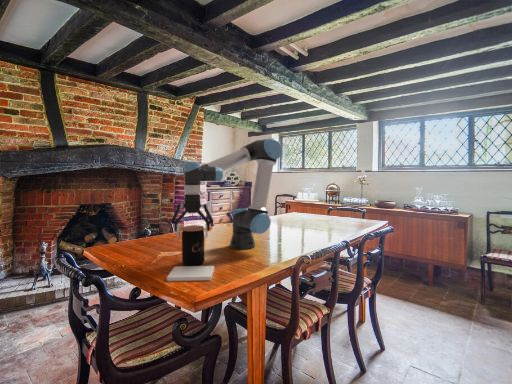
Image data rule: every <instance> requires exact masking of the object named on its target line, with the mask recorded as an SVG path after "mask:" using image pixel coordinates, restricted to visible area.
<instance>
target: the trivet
mask: <svg viewBox="0 0 512 384" xmlns="http://www.w3.org/2000/svg"><path fill="white" fill-rule="evenodd" d="M214 271H215V265H199V266H185V265H184V266H174V267H173V268H172V269H171V271H170V272H169V273H168V275H167V277H166V282H185V281H186V282H187V281H188V282H189V281H190V282H191V281H198V282H199V281H212V277H213V276H214V275H213V274H214Z"/></svg>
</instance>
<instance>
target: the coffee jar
mask: <svg viewBox="0 0 512 384" xmlns="http://www.w3.org/2000/svg"><path fill="white" fill-rule="evenodd" d="M204 229H205V226H203V225H193V224H191V225H185V226H182V227H181V230H182V232H181V249H182V250H181V252H182V254H181V256H182V257H181V258H182V260H181V261H182V264H183V265H184V266H203V264H204V262H205V231H204Z"/></svg>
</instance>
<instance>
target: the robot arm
mask: <svg viewBox="0 0 512 384" xmlns="http://www.w3.org/2000/svg"><path fill="white" fill-rule="evenodd" d="M282 154H283V145H282V144H281V143H280V141H279V140H278V139H276V138H270V137H269V138H268V137H267V138H264V139H257V140H254V141H252V142H250V143H248V144H246V145H243V146H241V147H240V148H239V150H236V151H234V152H231V153H229V154H227V155H224V156H222V157H220V158H217V159H214V160H212V161H210V162H207V163H205V164H202V165H201V163H200V161H186V162H184V169H183V176H184V177H183V178H184V181H183V182H184V184H183V185H184V186H183V193H184V195H183V197H184V201H183V202H184V203H178V204H177V207H176V210H175V212H174V214H173V216H172V218H171V220H170V223H171V224H174V231H176V238H177V239H179V238H180V236H181V234H180V233H181V232H180V230H181V228H180V227H181V224H180V221H181V220H182V219H183V218H184V217H185V215H186V214H187V213H188V214H198V215H199V216H200V217H201V219H203V221H204V222H205V224H204V225H205V226H204V229H205V231H204V239H207V238H208V232H210V230H211V224H213V223H214V218H213V217H212V215H211V213H210V211H209V208H208V204H207V203H203V204H202V203H201V194H200V193H201V182H214V183H216V182H221V181H222V180H223V177H224V171H226V170H230V169H231V168H234V167H236V166H238V165H240V164H243V163H250V162H252V161H256V163H257V169H256V175H255V181H254V185H253V192H252V196H251V197H252V198H251V204H250V206H248V207H246V208H235V209H233V210H232V216H231V217H232V235H231V238H230V243H229V247H230V248H231V249H233V250H234V249H235V250H250V249H254V248H255V247H256V242H255V239H254V236H253V234H258V235H262V234H264V233H266V232H267V231H268V230H269V228H270V227H271V217H270V216H269V210H268V209H267V204H268V199H269V192H270V188H271V180H272V176H273V175H272V174H273V167H274V166H275V165H276V164H277V160H278V159H279V158H280V157H281V156H282ZM183 208H184V211H183V212H182V213H181V214H180V215H179V213H180V211H181V209H183ZM201 208H202V209H203V210H204V212H205V214H206V215H205V214H204V213H203V211H201V210H200V209H201ZM178 215H179V217H178ZM206 216H207V217H206Z"/></svg>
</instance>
